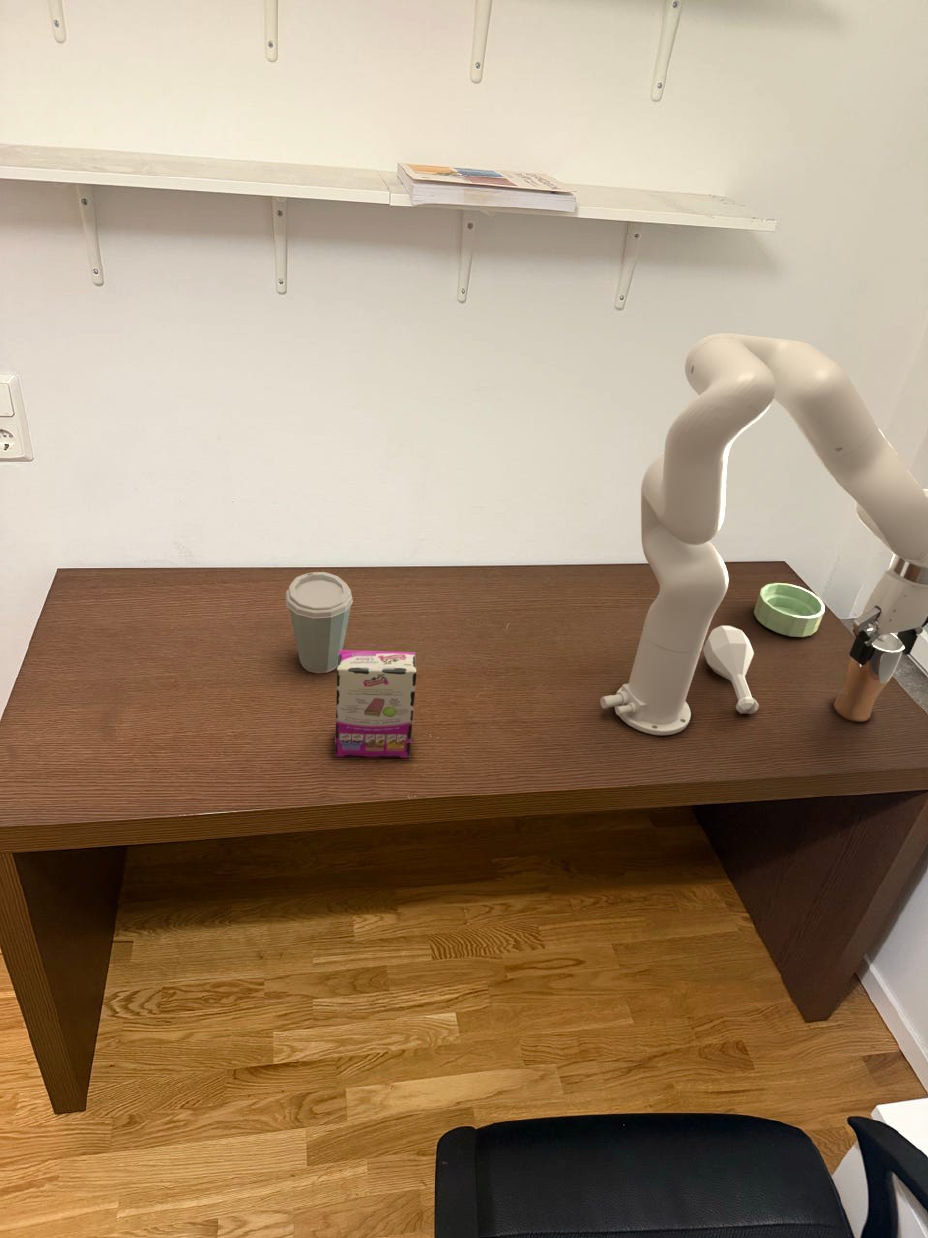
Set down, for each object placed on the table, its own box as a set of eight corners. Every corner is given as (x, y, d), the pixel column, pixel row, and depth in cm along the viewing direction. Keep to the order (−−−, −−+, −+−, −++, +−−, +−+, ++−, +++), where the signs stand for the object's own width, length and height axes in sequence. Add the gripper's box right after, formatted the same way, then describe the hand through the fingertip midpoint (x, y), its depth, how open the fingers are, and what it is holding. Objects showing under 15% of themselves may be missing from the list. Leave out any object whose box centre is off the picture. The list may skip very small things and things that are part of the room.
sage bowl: (780, 643, 172) (788, 622, 169) (740, 608, 181) (747, 587, 178) (829, 634, 176) (838, 612, 174) (788, 600, 185) (795, 579, 183)
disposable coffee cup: (360, 674, 150) (364, 598, 142) (297, 688, 145) (298, 611, 137) (336, 638, 158) (339, 565, 149) (276, 651, 153) (275, 575, 144)
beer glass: (853, 695, 161) (884, 625, 152) (881, 720, 155) (915, 649, 147) (822, 700, 158) (852, 630, 150) (849, 726, 153) (882, 655, 145)
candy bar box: (408, 736, 139) (417, 650, 130) (409, 759, 135) (418, 672, 126) (334, 734, 138) (338, 647, 128) (333, 757, 133) (336, 669, 124)
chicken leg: (714, 719, 152) (749, 691, 147) (689, 640, 164) (720, 611, 159) (751, 732, 155) (786, 705, 150) (723, 654, 168) (755, 626, 163)
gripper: (938, 547, 147) (900, 633, 156) (858, 562, 140) (823, 651, 150) (976, 571, 141) (934, 659, 151) (894, 587, 135) (856, 678, 144)
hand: (879, 655), depth 150 cm, fingers open, 9 cm apart
